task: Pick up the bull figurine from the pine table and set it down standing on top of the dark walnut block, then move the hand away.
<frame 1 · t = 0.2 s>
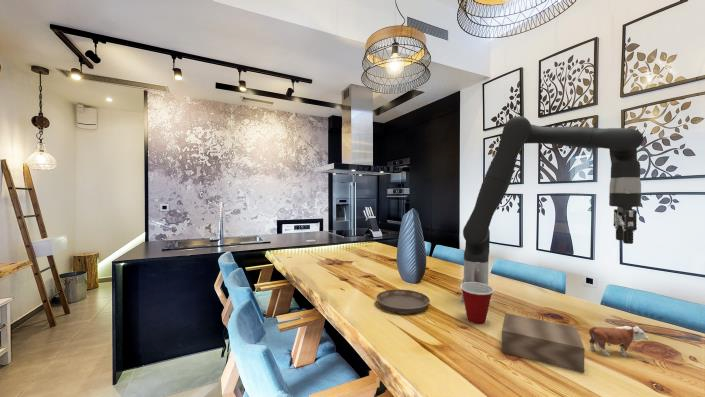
hand: (624, 241, 94), 29 cm above the table, tool pointing down, fingers open, 8 cm apart
walnut block: (539, 349, 81), on the table
plant saucer: (402, 306, 114), on the table
bull figurine: (616, 354, 79), on the table
plastic cup: (476, 321, 100), on the table
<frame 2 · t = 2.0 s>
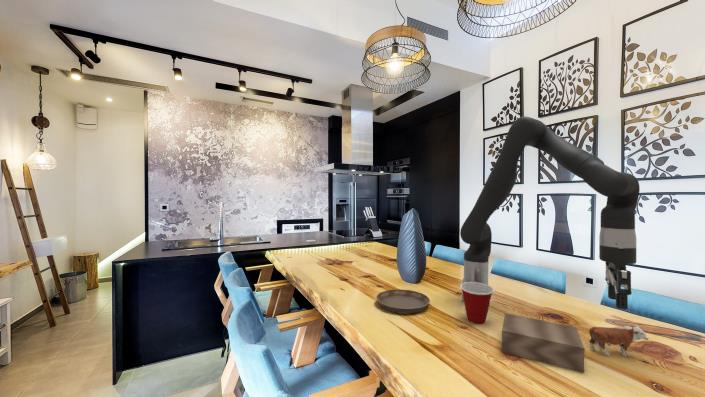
hand: (617, 303, 79), 14 cm above the table, tool pointing down, fingers open, 8 cm apart
nothing on the table moved.
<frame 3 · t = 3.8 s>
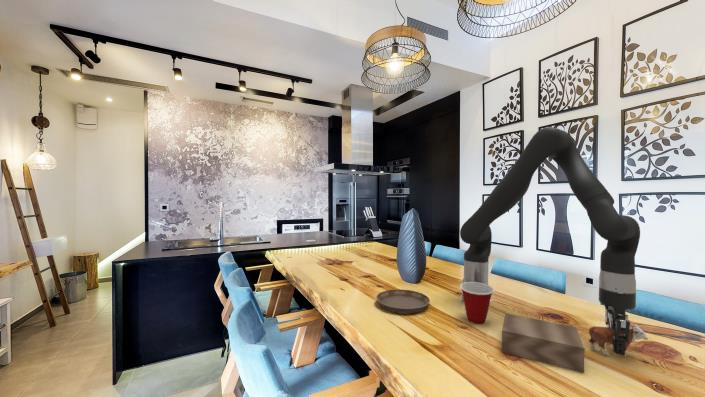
hand: (616, 349, 79), 1 cm above the table, tool pointing down, fingers closed on bull figurine, 5 cm apart
bull figurine: (615, 354, 79), on the table, touching gripper
everything else where it was.
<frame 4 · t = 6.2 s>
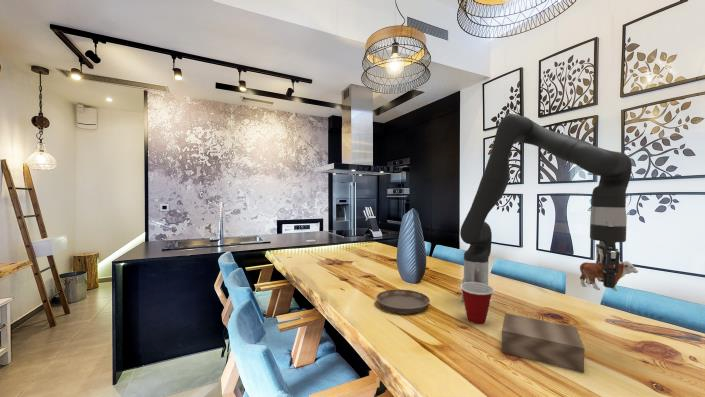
hand: (606, 284, 80), 19 cm above the table, tool pointing down, fingers closed on bull figurine, 5 cm apart
bull figurine: (605, 289, 80), point 17 cm above the table, touching gripper
everything else where it was.
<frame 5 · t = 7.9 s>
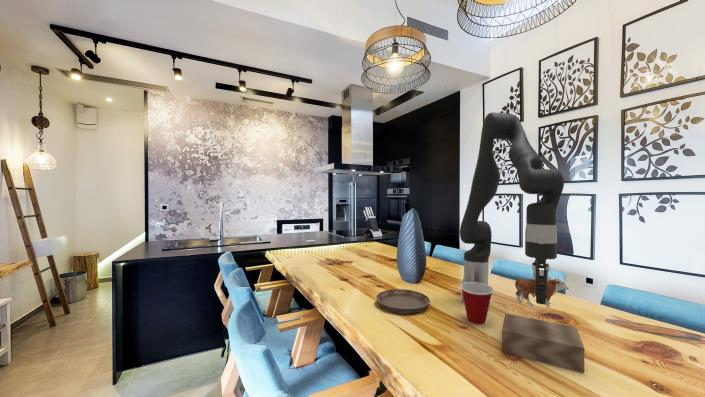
hand: (540, 300, 81), 14 cm above the table, tool pointing down, fingers closed on bull figurine, 5 cm apart
bull figurine: (540, 305, 81), point 12 cm above the table, touching gripper
everything else where it was.
when the fingers open (9 cm above the table, at t = 9.1 s): bull figurine drops 1 cm, resting on walnut block.
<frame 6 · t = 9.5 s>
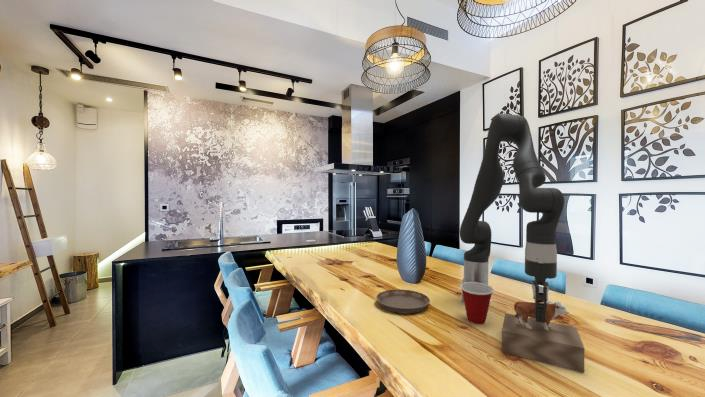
hand: (539, 316, 81), 9 cm above the table, tool pointing down, fingers open, 8 cm apart
bull figurine: (539, 329, 81), point 6 cm above the table, touching walnut block
everything else where it was.
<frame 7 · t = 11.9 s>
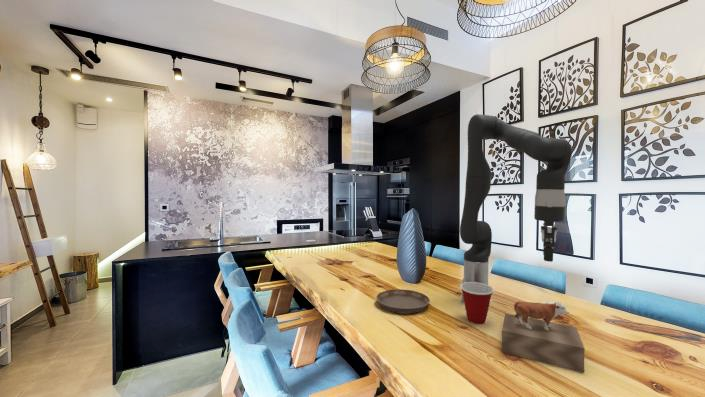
hand: (547, 258, 87), 24 cm above the table, tool pointing down, fingers open, 8 cm apart
nothing on the table moved.
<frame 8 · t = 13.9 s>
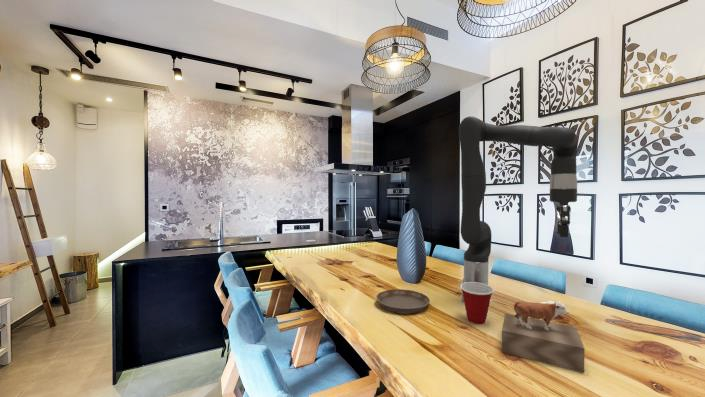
hand: (562, 235, 98), 30 cm above the table, tool pointing down, fingers open, 8 cm apart
nothing on the table moved.
at the end: bull figurine inside the target area on the walnut block (0.1 cm from its centre), point 5.8 cm above the walnut block's base; bull figurine tilted 0°; the gripper is holding nothing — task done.
